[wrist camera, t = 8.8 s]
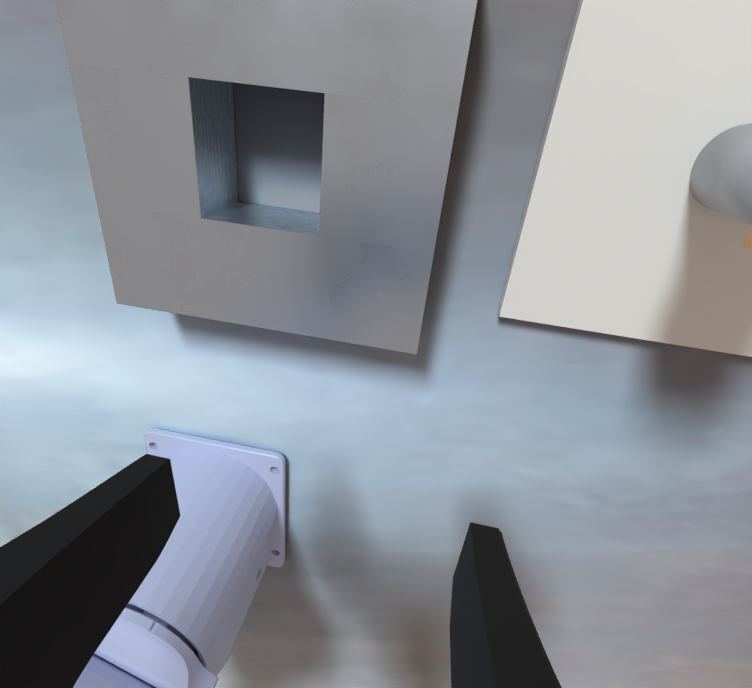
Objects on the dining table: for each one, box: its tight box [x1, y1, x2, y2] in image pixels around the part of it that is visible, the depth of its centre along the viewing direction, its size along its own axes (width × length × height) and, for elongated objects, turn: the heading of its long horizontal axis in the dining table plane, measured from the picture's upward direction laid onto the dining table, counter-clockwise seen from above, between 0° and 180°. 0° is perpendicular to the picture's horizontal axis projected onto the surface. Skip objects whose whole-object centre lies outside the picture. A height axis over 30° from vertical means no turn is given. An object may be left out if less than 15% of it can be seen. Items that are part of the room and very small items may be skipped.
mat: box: [498, 0, 752, 357], centre depth 15 cm, size 12×12×1 cm
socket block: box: [56, 0, 477, 355], centre depth 15 cm, size 12×12×3 cm
